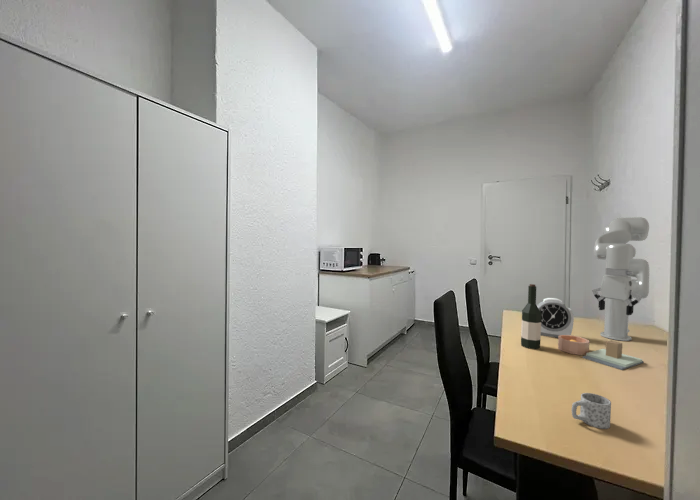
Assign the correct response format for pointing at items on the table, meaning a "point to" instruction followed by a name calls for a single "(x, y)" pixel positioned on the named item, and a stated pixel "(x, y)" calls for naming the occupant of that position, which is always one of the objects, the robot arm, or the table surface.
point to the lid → (614, 355)
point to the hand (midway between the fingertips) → (615, 312)
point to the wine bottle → (531, 321)
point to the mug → (593, 410)
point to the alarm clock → (555, 318)
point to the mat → (608, 363)
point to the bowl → (573, 344)
